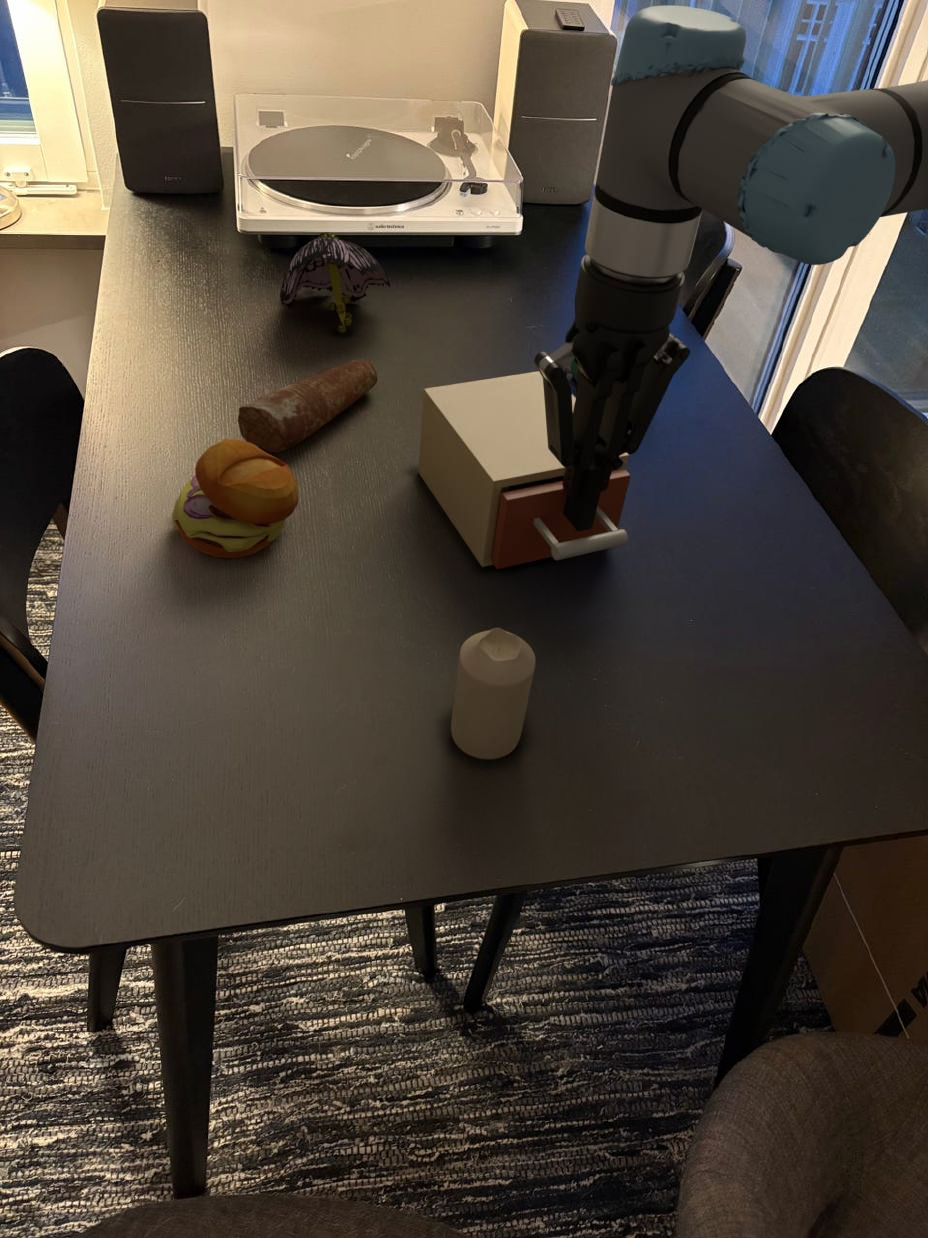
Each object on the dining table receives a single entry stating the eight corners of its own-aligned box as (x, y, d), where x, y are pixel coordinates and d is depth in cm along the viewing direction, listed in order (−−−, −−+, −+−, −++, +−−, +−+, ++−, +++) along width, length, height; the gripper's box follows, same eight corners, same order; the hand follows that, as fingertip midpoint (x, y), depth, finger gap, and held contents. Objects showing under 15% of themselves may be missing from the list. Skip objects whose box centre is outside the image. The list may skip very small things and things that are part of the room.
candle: (452, 760, 74) (464, 670, 67) (448, 705, 77) (459, 615, 71) (524, 760, 74) (543, 671, 67) (516, 706, 78) (533, 616, 71)
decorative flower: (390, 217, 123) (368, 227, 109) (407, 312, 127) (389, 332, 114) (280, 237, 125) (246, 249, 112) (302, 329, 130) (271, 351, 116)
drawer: (642, 576, 90) (662, 508, 84) (522, 606, 85) (534, 536, 80) (544, 458, 102) (556, 393, 97) (434, 479, 98) (440, 411, 92)
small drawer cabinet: (608, 538, 95) (629, 454, 88) (482, 567, 90) (493, 481, 83) (535, 450, 105) (549, 369, 98) (417, 472, 100) (423, 388, 93)
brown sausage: (233, 446, 101) (229, 399, 97) (351, 377, 113) (351, 333, 109) (279, 470, 98) (276, 422, 94) (394, 397, 110) (396, 352, 106)
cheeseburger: (186, 490, 94) (201, 405, 88) (293, 522, 96) (316, 442, 90) (156, 555, 87) (170, 467, 80) (272, 589, 89) (296, 506, 82)
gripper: (681, 232, 74) (618, 483, 90) (530, 247, 69) (493, 509, 86) (738, 275, 69) (661, 532, 86) (581, 294, 65) (531, 562, 81)
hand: (577, 520), depth 86 cm, fingers closed
